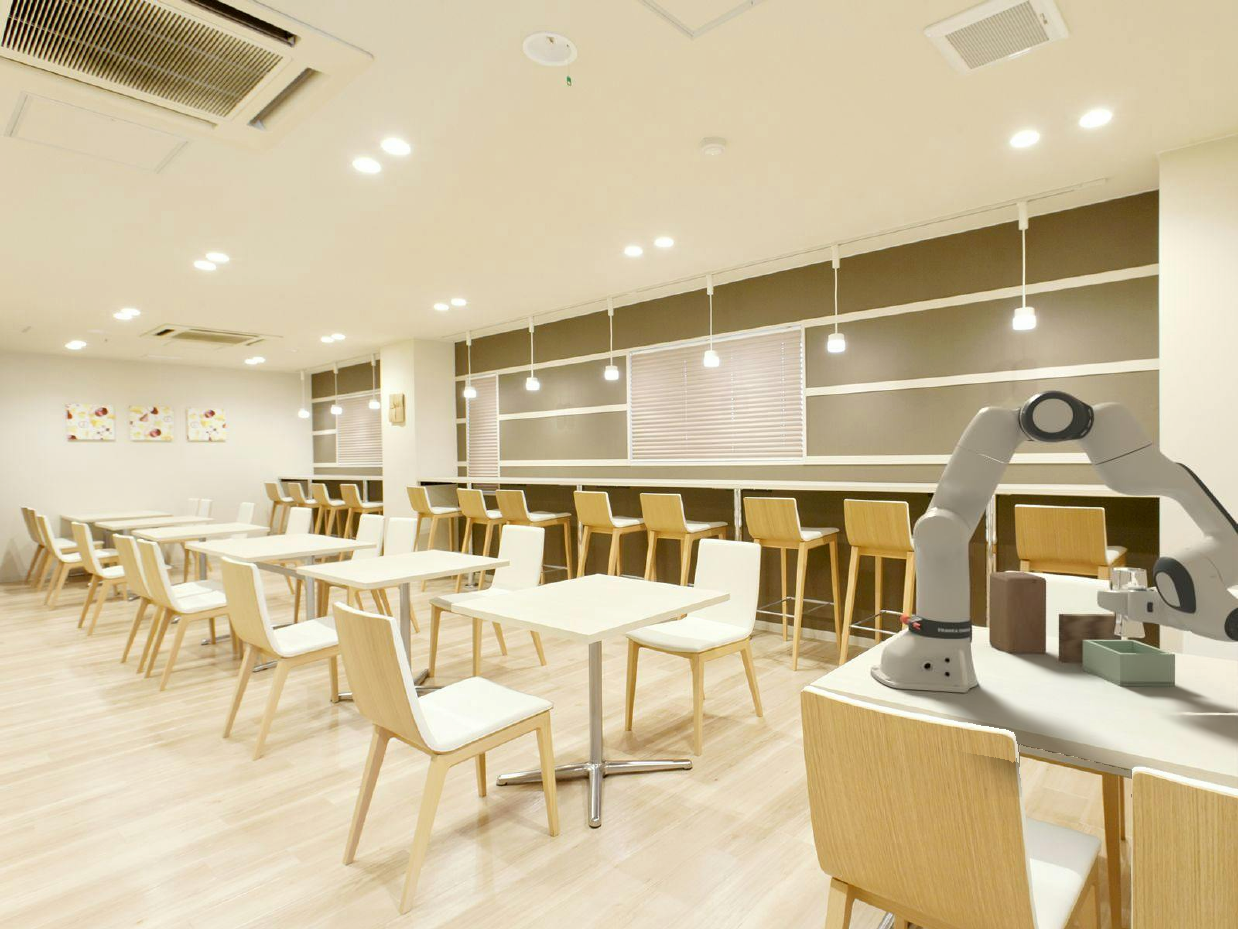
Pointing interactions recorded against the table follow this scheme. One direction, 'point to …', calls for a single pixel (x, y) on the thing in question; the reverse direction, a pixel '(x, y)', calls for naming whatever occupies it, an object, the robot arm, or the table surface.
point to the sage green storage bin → (1129, 663)
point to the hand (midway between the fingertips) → (1124, 593)
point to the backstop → (1082, 633)
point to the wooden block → (1017, 612)
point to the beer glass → (1127, 581)
